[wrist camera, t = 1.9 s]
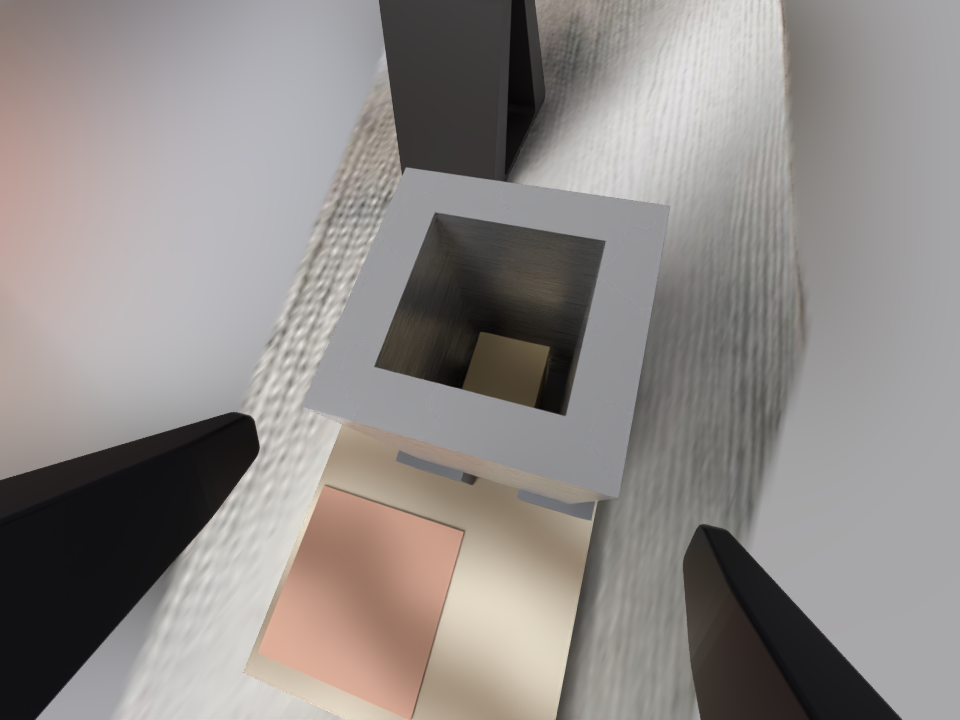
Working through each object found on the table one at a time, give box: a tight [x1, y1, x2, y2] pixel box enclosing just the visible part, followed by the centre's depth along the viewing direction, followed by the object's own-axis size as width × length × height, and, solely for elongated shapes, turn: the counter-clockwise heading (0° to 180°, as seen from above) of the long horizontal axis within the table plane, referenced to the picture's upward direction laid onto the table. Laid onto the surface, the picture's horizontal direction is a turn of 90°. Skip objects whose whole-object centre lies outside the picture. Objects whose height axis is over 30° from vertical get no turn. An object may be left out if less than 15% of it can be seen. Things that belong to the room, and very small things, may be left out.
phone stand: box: [379, 0, 545, 182], centre depth 20 cm, size 9×6×12 cm, turn 158°
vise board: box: [243, 332, 597, 720], centre depth 14 cm, size 16×12×8 cm
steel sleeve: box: [302, 167, 670, 504], centre depth 11 cm, size 5×5×8 cm
